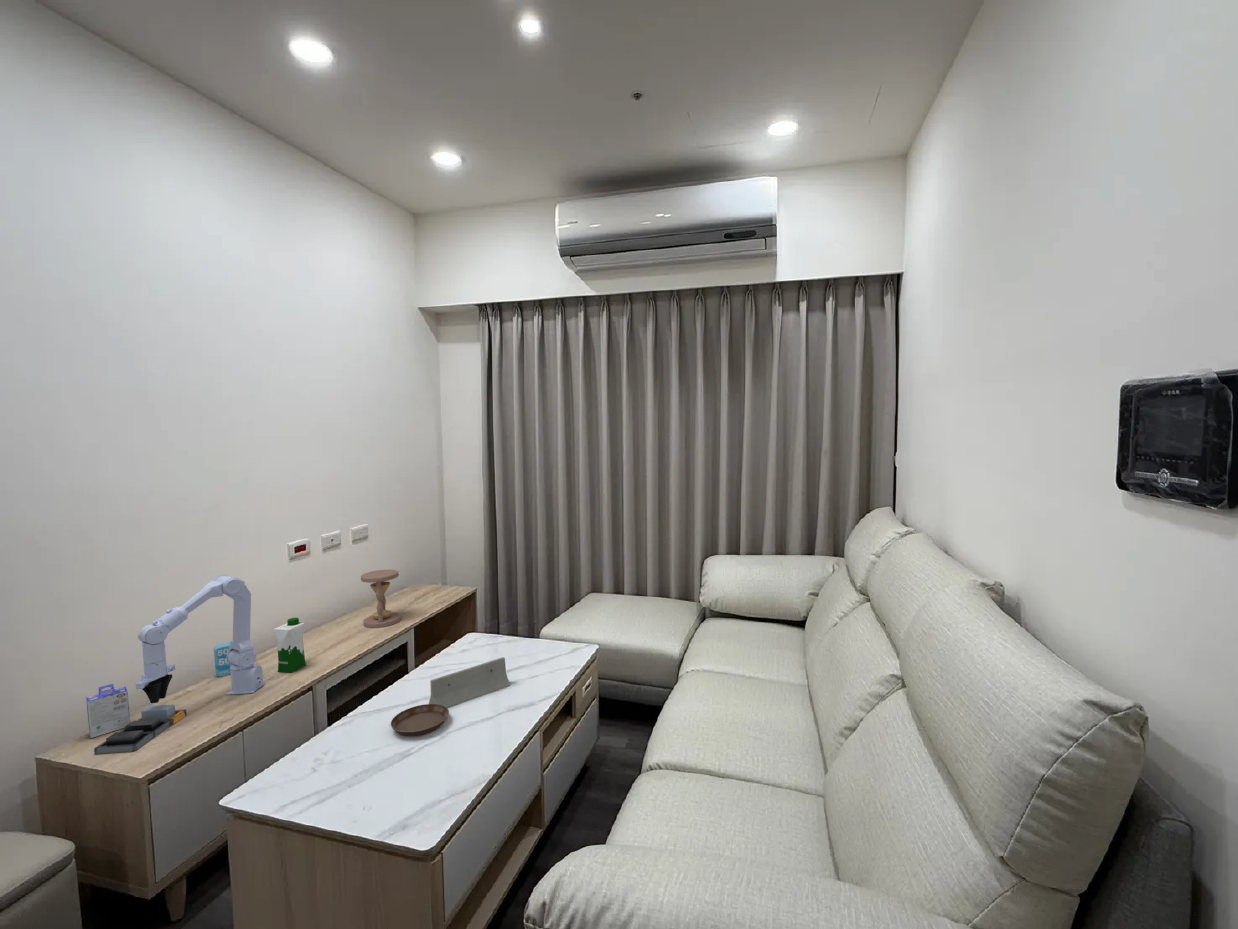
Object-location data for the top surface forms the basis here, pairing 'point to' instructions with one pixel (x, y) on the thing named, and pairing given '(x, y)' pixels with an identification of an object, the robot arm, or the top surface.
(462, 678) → the barrier
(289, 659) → the milk carton
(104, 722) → the ink cartridge box
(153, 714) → the grey-blue rectangular block
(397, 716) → the plant saucer
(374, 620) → the hourglass
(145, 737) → the grey tray
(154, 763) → the top surface
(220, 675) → the data package
